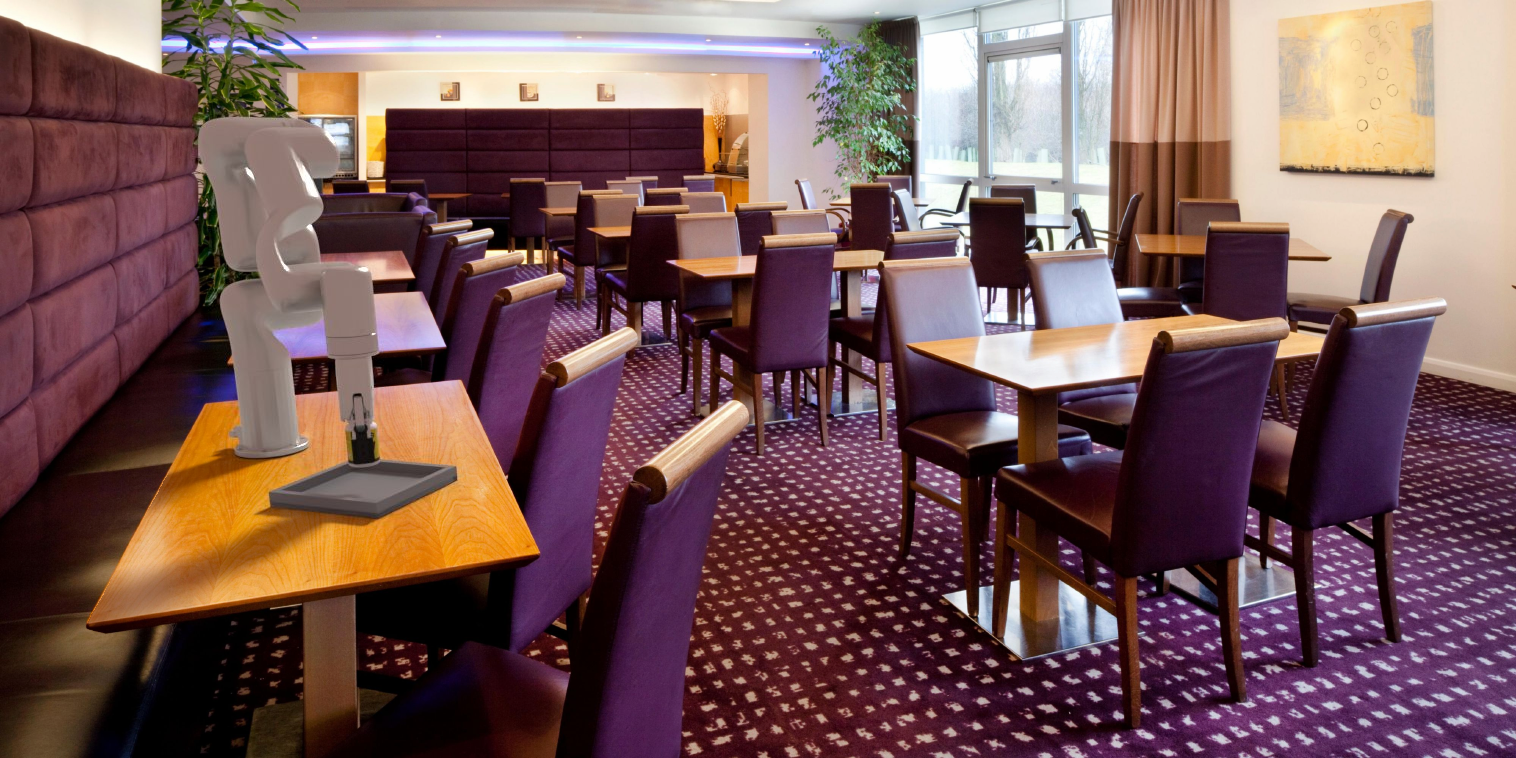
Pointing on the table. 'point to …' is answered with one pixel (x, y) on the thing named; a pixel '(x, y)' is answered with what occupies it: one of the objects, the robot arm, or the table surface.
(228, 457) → the table surface
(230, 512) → the table surface
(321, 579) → the table surface
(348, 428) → the supplement bottle
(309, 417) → the table surface
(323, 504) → the serving tray
